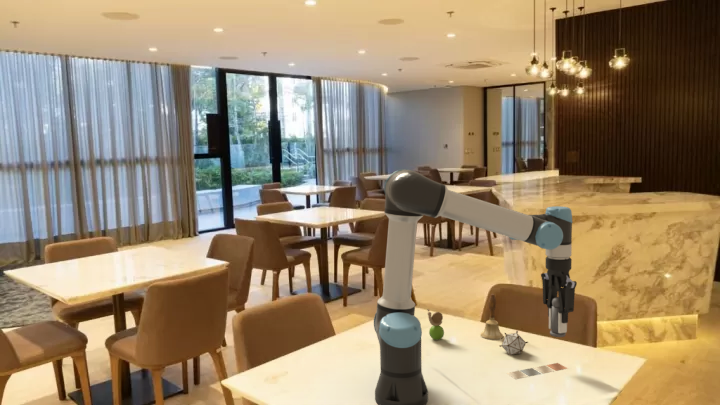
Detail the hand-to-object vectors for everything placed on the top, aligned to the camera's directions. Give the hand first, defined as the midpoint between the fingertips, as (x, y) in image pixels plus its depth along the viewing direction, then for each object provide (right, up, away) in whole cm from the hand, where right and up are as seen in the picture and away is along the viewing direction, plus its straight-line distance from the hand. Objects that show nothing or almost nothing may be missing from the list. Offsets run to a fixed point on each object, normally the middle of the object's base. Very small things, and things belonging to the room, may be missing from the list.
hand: (557, 330), depth 169 cm
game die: (-10, -12, +14) cm, 21 cm away
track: (-7, -13, -1) cm, 15 cm away
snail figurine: (-34, -11, +30) cm, 47 cm away
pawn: (0, -1, 0) cm, 1 cm away
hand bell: (-13, -10, +33) cm, 37 cm away
